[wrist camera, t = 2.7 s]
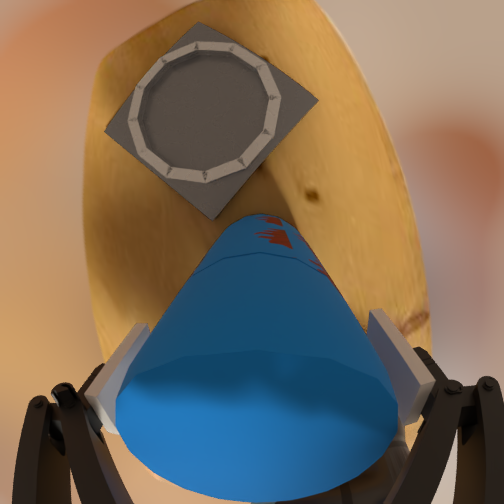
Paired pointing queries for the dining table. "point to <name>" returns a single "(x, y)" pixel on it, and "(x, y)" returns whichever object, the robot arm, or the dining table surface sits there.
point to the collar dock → (208, 117)
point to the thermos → (258, 376)
